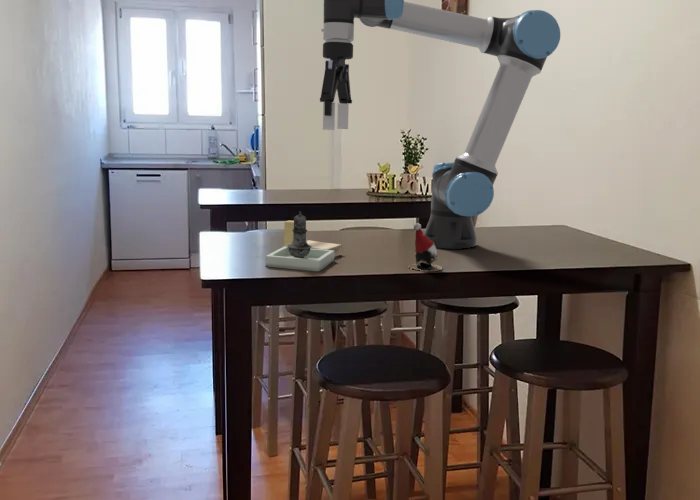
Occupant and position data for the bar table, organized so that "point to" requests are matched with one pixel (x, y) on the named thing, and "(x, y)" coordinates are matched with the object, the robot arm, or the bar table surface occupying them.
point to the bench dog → (288, 232)
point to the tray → (300, 259)
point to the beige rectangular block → (326, 246)
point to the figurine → (424, 252)
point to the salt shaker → (299, 238)
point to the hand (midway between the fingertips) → (335, 129)
